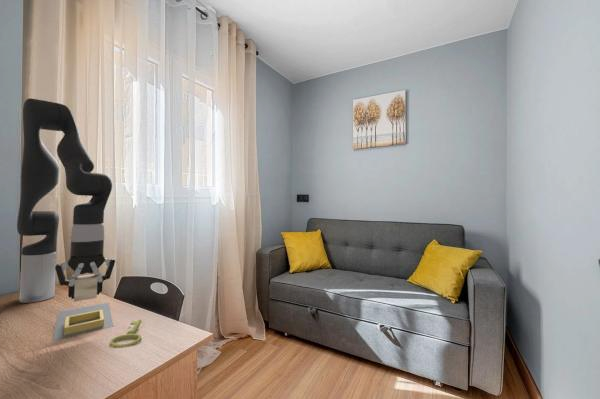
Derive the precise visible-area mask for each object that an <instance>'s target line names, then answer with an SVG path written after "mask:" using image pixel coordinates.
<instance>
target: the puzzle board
mask: <svg viewBox="0 0 600 399" xmlns="http://www.w3.org/2000/svg"><path fill="white" fill-rule="evenodd" d="M112 327H114V322H113V318H112V312H111V309H110V305H109V302H104V303H100V304H93V305H88V306H85V307H84V306H83V307H79V308H73V309H68V310H62V311H58V312H57V318H56V321H55V327H54V330H53V336H52V340H51V341H52V342H53V341H58V340H62V339H66V338H70V337H74V336H80V335H83V334H87V333H91V332H95V331H98V330H99V331H100V330H105V329H108V328H112Z"/></svg>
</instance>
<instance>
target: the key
mask: <svg viewBox="0 0 600 399" xmlns="http://www.w3.org/2000/svg"><path fill="white" fill-rule="evenodd" d="M142 322H143V321H142V320H141V319H138V320H136V321H131V322H130V325H134V326H133V327H132V328H131V329H130V330H129V331H127V332H126V334H121V335H117V336H115V337H113V338H112V339H111V340H110V341H109V347H111V346H113V347H112V348H125V347H124V346H126V347H130V346H134V345H137V344H138V342H139V343H140V342H141V341H142V334H141V335H140V334H139V333H136V331H137V330H138V328H139V326H140V325H141V323H142ZM129 338H130V339H135V338H137V339H135V340H134V341H133V340H132V341H131V342H127V343H116V342H117V340H118V341H121V340H129Z"/></svg>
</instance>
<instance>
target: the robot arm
mask: <svg viewBox="0 0 600 399" xmlns="http://www.w3.org/2000/svg"><path fill="white" fill-rule="evenodd" d="M22 126H23V149H22V150H23V152H22V164H21V171H20V172H21V173H20V201H19V206H18V207H19V208H18V214H17V215H18V216H17V221H16V222H17V223H16V230H17V234H19V235H20V236H23V237H29V236H30V237H32V236H34V237H35V236H45V237H44V238H43V239H41V240H38V241H36V242H35V243H30V244H27V245H25V246H23V247H22V249H21V261H20V262H21V263H20V265H21V266H20V267H21V268H20V283H19V299H18V301H19V303H21V304H23V303H24V304H29V303H38V302H43V301H47V300H49V299H51V298H53V297H54V296H55V290H56V289H55V288H56V275H57V280H58V282H59V285H60V286H66V287H68V291H67V296H68V298H70V299H71V300H74V291H75V279H77V278H78V276H80V275H86V274H95V276H96V277H98V278H97V296H98V295H100V293H102V292H103V282H104V281H105V280H109V279H111V275H112V273H113V270H114V266H115V263H116V259H115V258H106V257H105V256H104V244H105V243H104V241H105V227H104V217H105V210H106V206H107V203H108V200H109V197H110V195H111V193H112V189H113V183H112V180H111V178H110V177H109V176H108V175H107V174H105V173H99V172H93V171H94V169H95V163H94V162H93V160H92V158H91V156H90V155H89V153H88V152H87V150H86V148H85V146H84V143H83V141H82V138H81V136H80V132H79V129H78V127H77V123H76V120H75V118H74V116H73V114H72V111H71V110H70V108H69V107H68V106H67V105H65V104H62V103H59V102H53V101H48V100H43V99H38V98H37V99H36V98H27V99H26V100H25V101H24V104H23V106H22ZM42 130H46V131H55V132H62V133H63V134H64V135H63V136H62V138H61V140H59V142H58V144H57V148H56V154H57V157H58V159H59V161H60V163H61V164H62V166H63V168H64V172H65V186H66V189H67V190H68V191H69V193H71V194H73V195H74V196H84V197H85V196H89V197H91V198H90V200H89V201H88V202H85V203H84V202H83V203H80V204H79V203H78V204H76V205H74V206H73V207H74V208H73V212H72V214H73V215H72V217H73V218H72V226H71V227H72V228H71V232H70V233H71V235H70V253H69V254H70V255H69V257H70V258H69V260H68V261H65V262H63V263H57V251H58V250H57V248H58V246H57V245H58V244H57V243H58V233H59V232H58V231H59V225H60V224H59V222H60V218H59V216H60V215H59V214H58V212H57V211H53V210H34V209H35V207H36V205H37V204H38V203H39V201H41V200H42V199H43V198H44V197H45V196H46V195H48V194H49V193H50V192H52V191H53V189H55V188H56V186H57V185H58V183H59V176H60V164H59V163H58V161H57V159H55V157H54V156H53V154H52V153H51V152H50V151H49V150H48V148H47V147H46V146H45V144H44V142H43V140H42V138H41V137H42V136H41V131H42ZM33 210H34V211H33ZM104 263H105V266H107V268H106V271H105V274H103V275H102V274H101V271H100V270H99V268H100V267H101V266H102V265H103V264H104ZM67 267H69V268H71V269H72V271H73V273H72V275H71V277H70V279H67V278H66V276H65V271H66V269H67Z"/></svg>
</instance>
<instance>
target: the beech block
mask: <svg viewBox="0 0 600 399" xmlns="http://www.w3.org/2000/svg"><path fill="white" fill-rule="evenodd" d="M97 278H98V277H96V276H95V274H94V273H90V274H82V275H79V276H78V278H77V279H75V291H74V299H73V301H74V302H80V301H81V302H82V301H85V300H86V301H87V300H92V299H97V298H98V297H97V296H98V295H97Z"/></svg>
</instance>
